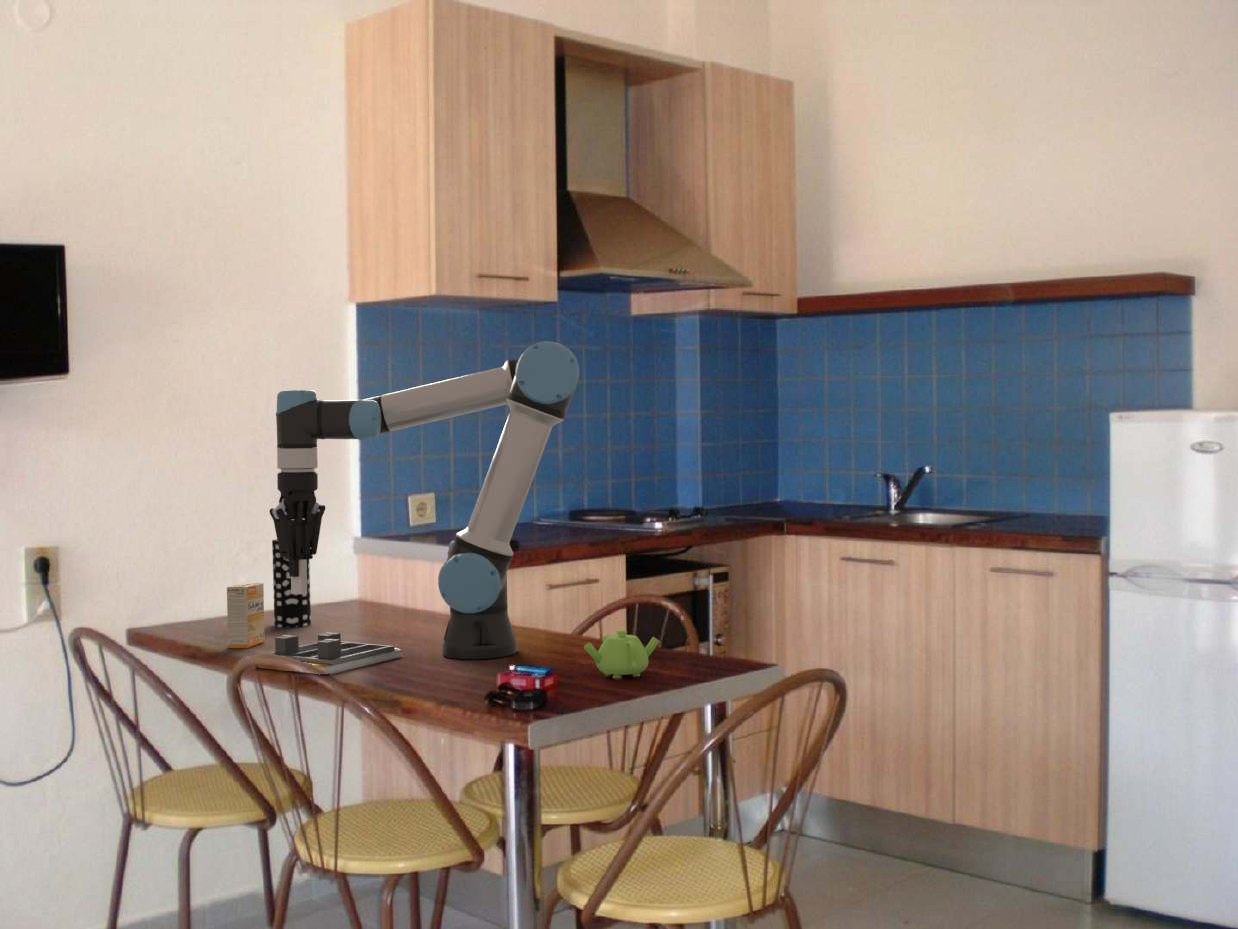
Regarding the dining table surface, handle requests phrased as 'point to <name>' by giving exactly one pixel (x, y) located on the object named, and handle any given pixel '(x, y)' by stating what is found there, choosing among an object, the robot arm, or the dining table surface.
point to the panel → (346, 656)
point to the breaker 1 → (286, 645)
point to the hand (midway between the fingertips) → (299, 593)
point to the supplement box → (245, 615)
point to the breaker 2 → (329, 649)
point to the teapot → (622, 654)
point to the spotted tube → (288, 595)
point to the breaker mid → (329, 636)
